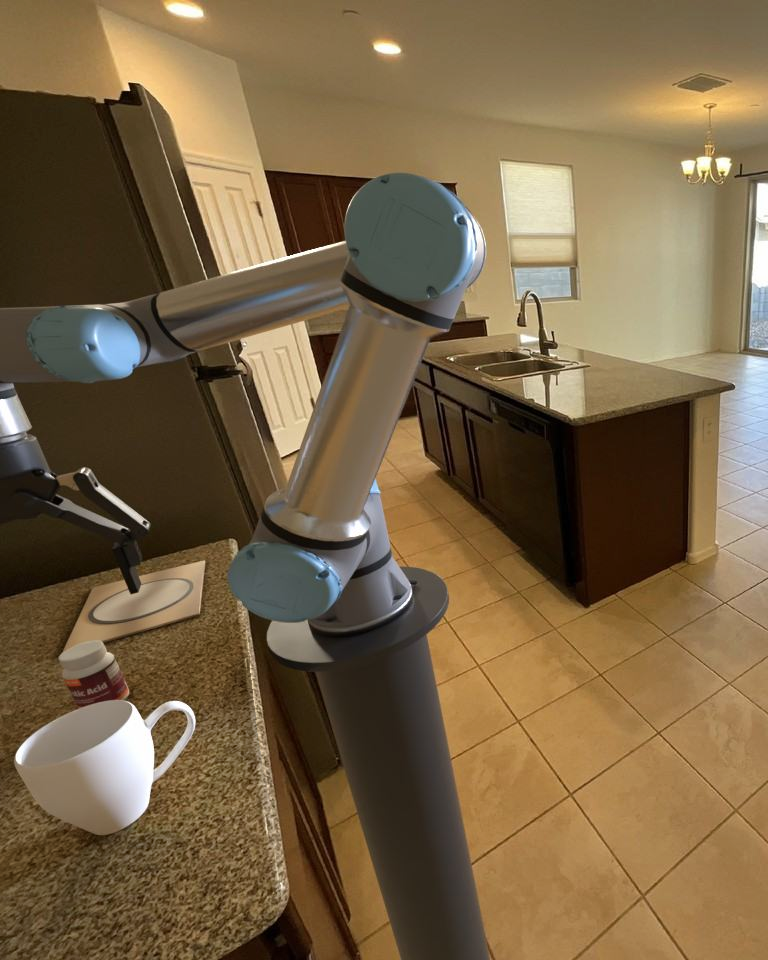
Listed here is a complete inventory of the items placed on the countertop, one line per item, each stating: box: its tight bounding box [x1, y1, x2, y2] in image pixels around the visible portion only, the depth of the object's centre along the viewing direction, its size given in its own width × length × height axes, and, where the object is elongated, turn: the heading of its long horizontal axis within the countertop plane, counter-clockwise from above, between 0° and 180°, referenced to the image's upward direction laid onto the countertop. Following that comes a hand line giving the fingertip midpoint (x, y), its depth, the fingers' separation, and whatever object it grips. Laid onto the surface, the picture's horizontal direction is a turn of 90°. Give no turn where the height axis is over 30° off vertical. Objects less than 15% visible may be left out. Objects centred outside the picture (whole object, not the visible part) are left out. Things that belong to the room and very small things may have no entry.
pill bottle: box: [58, 640, 130, 709], centre depth 67 cm, size 5×5×8 cm
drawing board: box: [61, 560, 206, 654], centre depth 90 cm, size 16×22×1 cm
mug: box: [13, 700, 196, 836], centre depth 53 cm, size 12×8×11 cm
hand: (61, 607), depth 63 cm, fingers open, 13 cm apart
